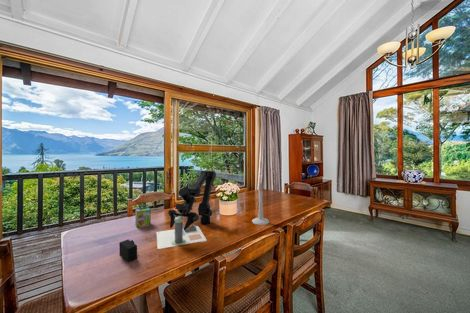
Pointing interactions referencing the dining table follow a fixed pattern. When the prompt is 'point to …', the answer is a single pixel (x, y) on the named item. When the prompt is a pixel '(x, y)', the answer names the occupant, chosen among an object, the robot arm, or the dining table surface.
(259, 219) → the candlestick
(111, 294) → the dining table surface
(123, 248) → the digital camera
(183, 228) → the button housing
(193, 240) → the colouring board
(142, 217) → the chalk box
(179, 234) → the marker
